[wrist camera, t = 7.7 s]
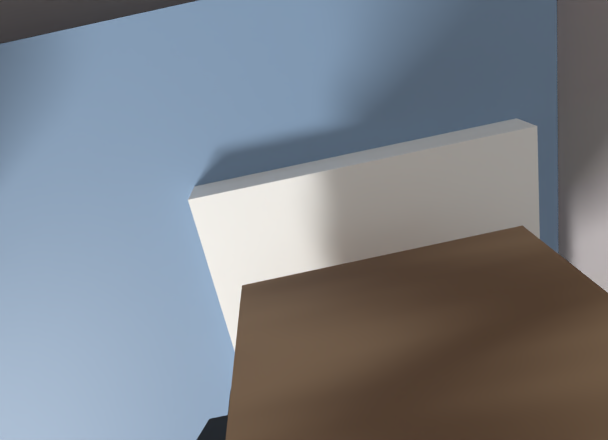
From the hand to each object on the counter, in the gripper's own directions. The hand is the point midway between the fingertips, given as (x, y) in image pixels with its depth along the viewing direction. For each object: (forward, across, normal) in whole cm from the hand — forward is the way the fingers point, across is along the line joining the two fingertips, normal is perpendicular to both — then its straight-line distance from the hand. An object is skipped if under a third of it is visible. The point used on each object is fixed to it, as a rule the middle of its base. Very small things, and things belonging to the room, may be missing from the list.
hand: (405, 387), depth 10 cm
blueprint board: (+5, +7, 0) cm, 8 cm away
